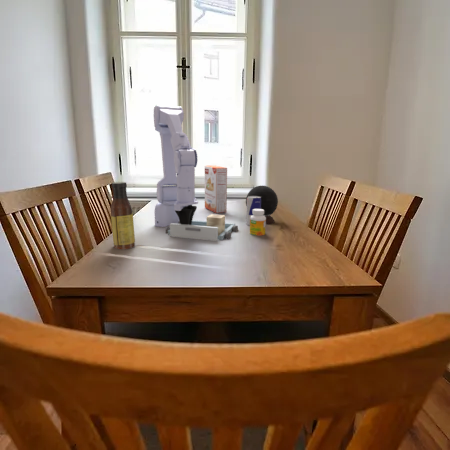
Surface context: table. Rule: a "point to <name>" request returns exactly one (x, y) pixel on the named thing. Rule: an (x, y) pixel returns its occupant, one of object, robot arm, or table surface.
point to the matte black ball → (265, 201)
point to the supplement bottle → (257, 222)
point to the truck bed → (225, 235)
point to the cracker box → (216, 188)
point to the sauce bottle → (122, 218)
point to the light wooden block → (217, 222)
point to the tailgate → (194, 231)
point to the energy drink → (252, 206)
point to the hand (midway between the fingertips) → (186, 228)
